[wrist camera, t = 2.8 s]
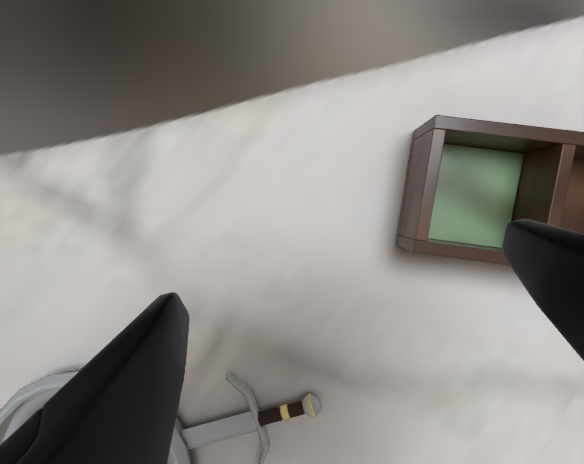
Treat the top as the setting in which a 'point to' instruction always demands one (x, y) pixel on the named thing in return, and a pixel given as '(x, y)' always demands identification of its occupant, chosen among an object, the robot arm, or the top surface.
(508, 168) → the divided wooden tray
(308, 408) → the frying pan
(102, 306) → the top surface
